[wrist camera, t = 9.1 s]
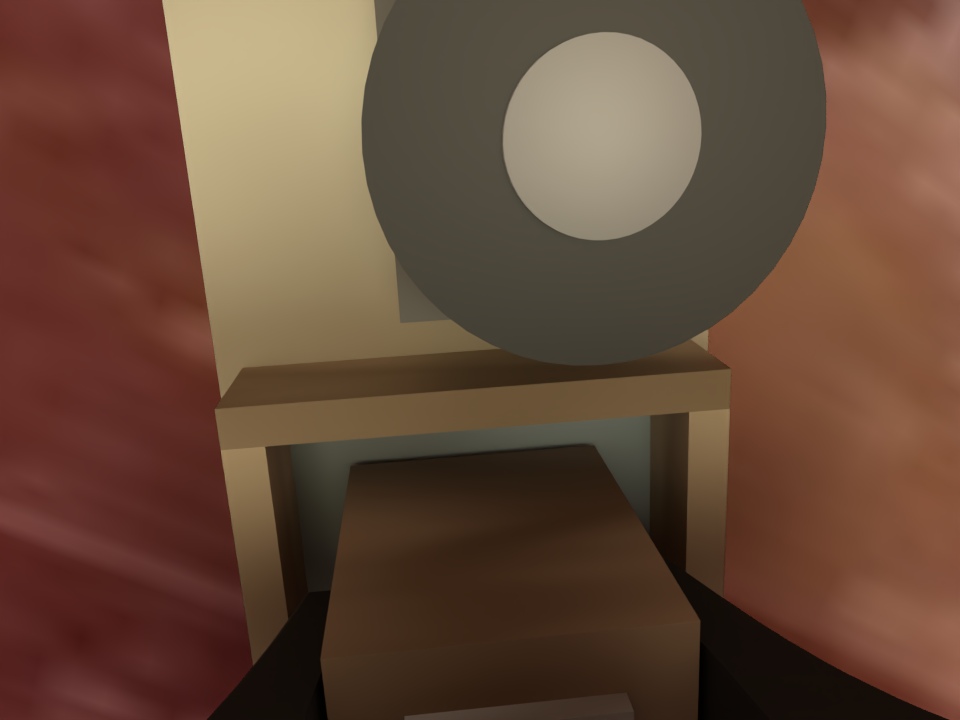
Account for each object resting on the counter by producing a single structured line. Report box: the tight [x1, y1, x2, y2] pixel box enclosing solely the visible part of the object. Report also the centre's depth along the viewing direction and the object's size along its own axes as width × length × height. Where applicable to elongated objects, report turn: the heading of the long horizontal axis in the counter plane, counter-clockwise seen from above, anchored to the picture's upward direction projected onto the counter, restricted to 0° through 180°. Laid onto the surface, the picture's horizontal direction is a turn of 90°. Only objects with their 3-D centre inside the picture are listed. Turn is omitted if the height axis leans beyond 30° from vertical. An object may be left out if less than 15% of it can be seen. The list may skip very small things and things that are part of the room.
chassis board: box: [162, 0, 731, 665], centre depth 13 cm, size 13×8×4 cm, turn 3°
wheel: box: [361, 0, 826, 366], centre depth 10 cm, size 5×5×4 cm
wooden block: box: [320, 445, 700, 720], centre depth 11 cm, size 4×4×5 cm
